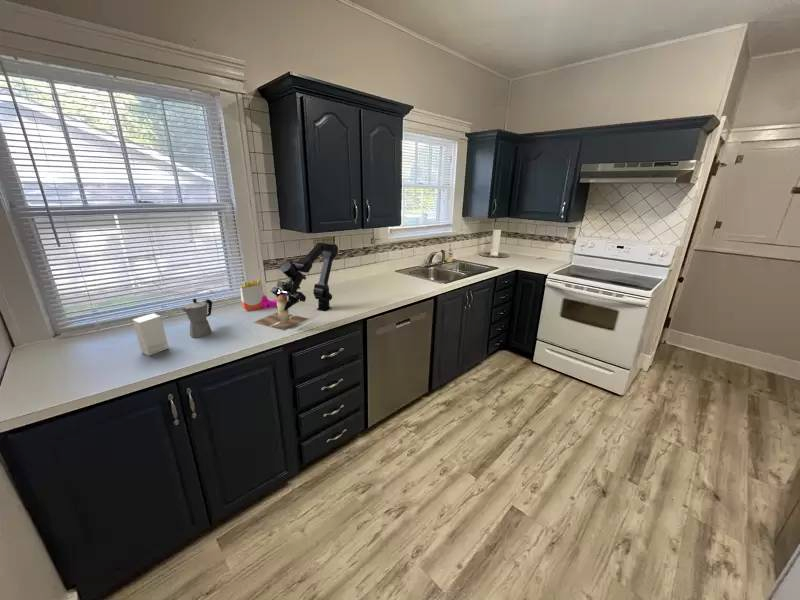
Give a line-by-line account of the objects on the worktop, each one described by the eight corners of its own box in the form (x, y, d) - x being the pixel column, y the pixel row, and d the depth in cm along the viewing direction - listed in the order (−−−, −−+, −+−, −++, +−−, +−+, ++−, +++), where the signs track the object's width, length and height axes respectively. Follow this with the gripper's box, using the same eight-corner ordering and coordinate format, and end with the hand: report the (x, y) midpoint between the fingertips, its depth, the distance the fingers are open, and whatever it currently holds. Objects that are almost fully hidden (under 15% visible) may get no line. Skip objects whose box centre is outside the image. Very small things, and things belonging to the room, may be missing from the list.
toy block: (265, 310, 189) (263, 298, 186) (260, 307, 193) (259, 295, 191) (289, 304, 199) (288, 293, 196) (284, 302, 203) (283, 290, 201)
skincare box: (162, 345, 145) (154, 312, 140) (169, 348, 142) (162, 315, 137) (140, 352, 138) (131, 318, 133) (148, 356, 135) (139, 322, 130)
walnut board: (278, 313, 185) (278, 311, 184) (309, 320, 176) (309, 318, 175) (252, 324, 169) (252, 322, 169) (284, 332, 160) (284, 330, 160)
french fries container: (242, 311, 187) (237, 281, 181) (261, 306, 194) (257, 277, 188) (245, 313, 184) (240, 282, 178) (264, 308, 191) (260, 279, 185)
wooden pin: (280, 318, 166) (278, 293, 162) (290, 318, 166) (288, 293, 162) (277, 322, 162) (274, 296, 157) (287, 322, 162) (284, 296, 157)
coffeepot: (196, 341, 149) (189, 304, 144) (181, 338, 152) (173, 301, 146) (223, 328, 163) (217, 294, 158) (208, 326, 166) (202, 292, 160)
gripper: (271, 271, 164) (256, 298, 158) (300, 276, 156) (285, 304, 150) (284, 283, 173) (270, 308, 167) (312, 287, 166) (298, 315, 160)
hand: (280, 309), depth 161 cm, fingers closed on wooden pin, 5 cm apart
